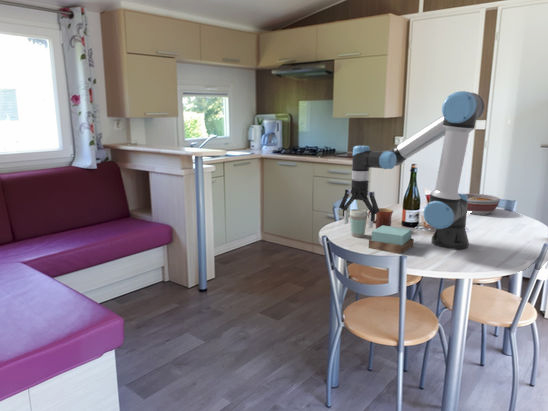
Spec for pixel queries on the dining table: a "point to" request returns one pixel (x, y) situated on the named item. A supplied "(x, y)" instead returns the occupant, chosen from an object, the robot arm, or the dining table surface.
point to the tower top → (391, 235)
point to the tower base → (391, 246)
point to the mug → (383, 217)
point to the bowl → (482, 203)
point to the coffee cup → (358, 222)
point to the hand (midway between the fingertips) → (358, 225)
